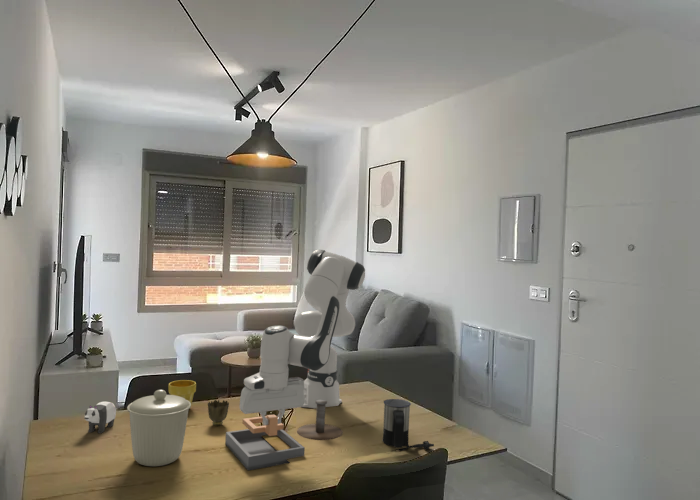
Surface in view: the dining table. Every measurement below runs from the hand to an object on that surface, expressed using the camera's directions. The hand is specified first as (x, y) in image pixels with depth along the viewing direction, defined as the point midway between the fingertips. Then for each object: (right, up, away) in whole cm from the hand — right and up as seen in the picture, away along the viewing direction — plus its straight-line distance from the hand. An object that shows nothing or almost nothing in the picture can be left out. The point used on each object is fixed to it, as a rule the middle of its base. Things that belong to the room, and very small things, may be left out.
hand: (271, 424), depth 167 cm
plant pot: (-42, -8, +45) cm, 62 cm away
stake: (+14, -11, +22) cm, 28 cm away
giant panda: (-61, -8, +18) cm, 64 cm away
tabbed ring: (-3, -3, +5) cm, 6 cm away
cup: (-24, -9, +28) cm, 38 cm away
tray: (-3, -11, +5) cm, 12 cm away
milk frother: (+43, -13, +14) cm, 47 cm away
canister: (-34, -10, -5) cm, 35 cm away
